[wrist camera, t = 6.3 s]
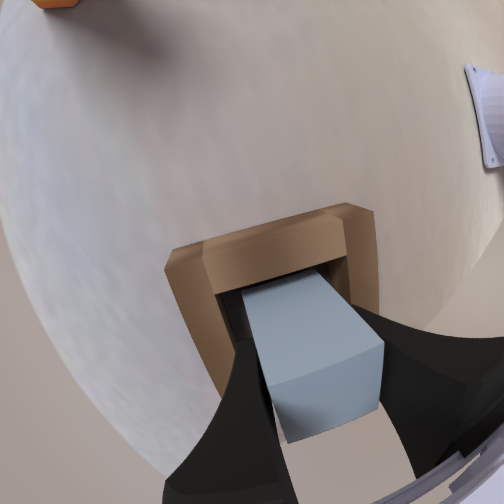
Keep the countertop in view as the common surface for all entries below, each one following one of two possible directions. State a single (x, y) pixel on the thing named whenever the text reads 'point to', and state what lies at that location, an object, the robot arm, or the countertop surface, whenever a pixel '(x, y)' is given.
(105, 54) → the countertop surface
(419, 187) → the countertop surface
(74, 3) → the supplement box
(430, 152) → the countertop surface
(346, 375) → the peg
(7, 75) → the countertop surface
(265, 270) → the walnut holder
